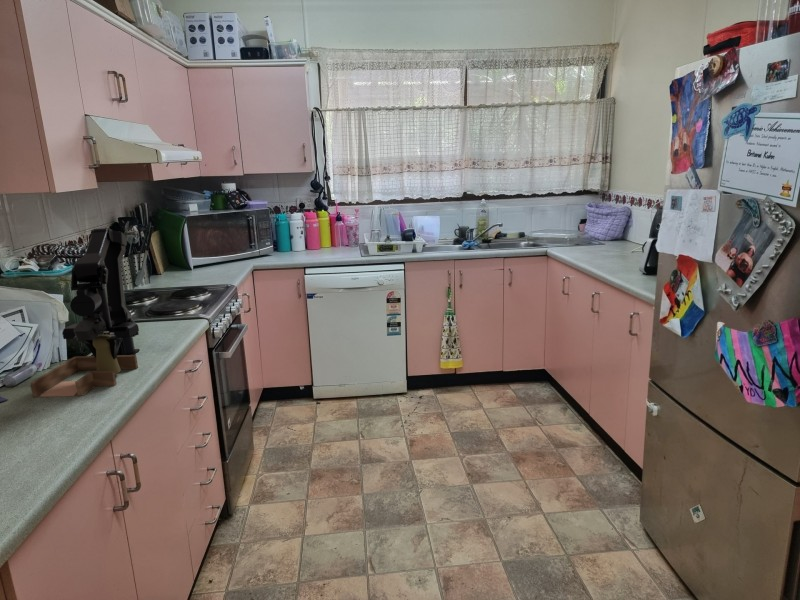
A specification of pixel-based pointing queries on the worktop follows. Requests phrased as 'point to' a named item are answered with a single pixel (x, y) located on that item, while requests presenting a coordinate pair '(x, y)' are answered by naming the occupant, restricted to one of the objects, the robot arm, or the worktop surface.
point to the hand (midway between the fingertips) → (106, 359)
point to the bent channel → (86, 381)
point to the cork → (105, 355)
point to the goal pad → (62, 389)
